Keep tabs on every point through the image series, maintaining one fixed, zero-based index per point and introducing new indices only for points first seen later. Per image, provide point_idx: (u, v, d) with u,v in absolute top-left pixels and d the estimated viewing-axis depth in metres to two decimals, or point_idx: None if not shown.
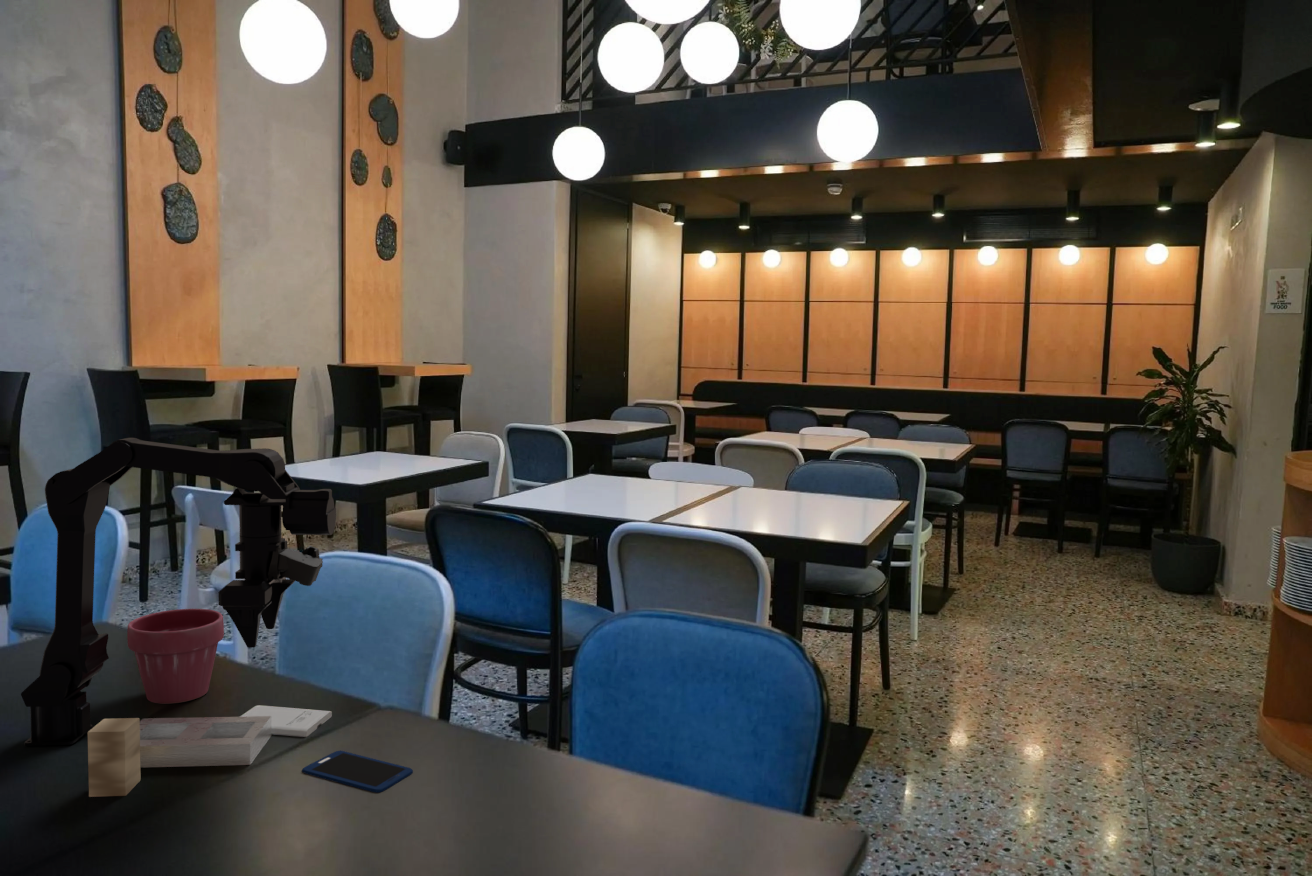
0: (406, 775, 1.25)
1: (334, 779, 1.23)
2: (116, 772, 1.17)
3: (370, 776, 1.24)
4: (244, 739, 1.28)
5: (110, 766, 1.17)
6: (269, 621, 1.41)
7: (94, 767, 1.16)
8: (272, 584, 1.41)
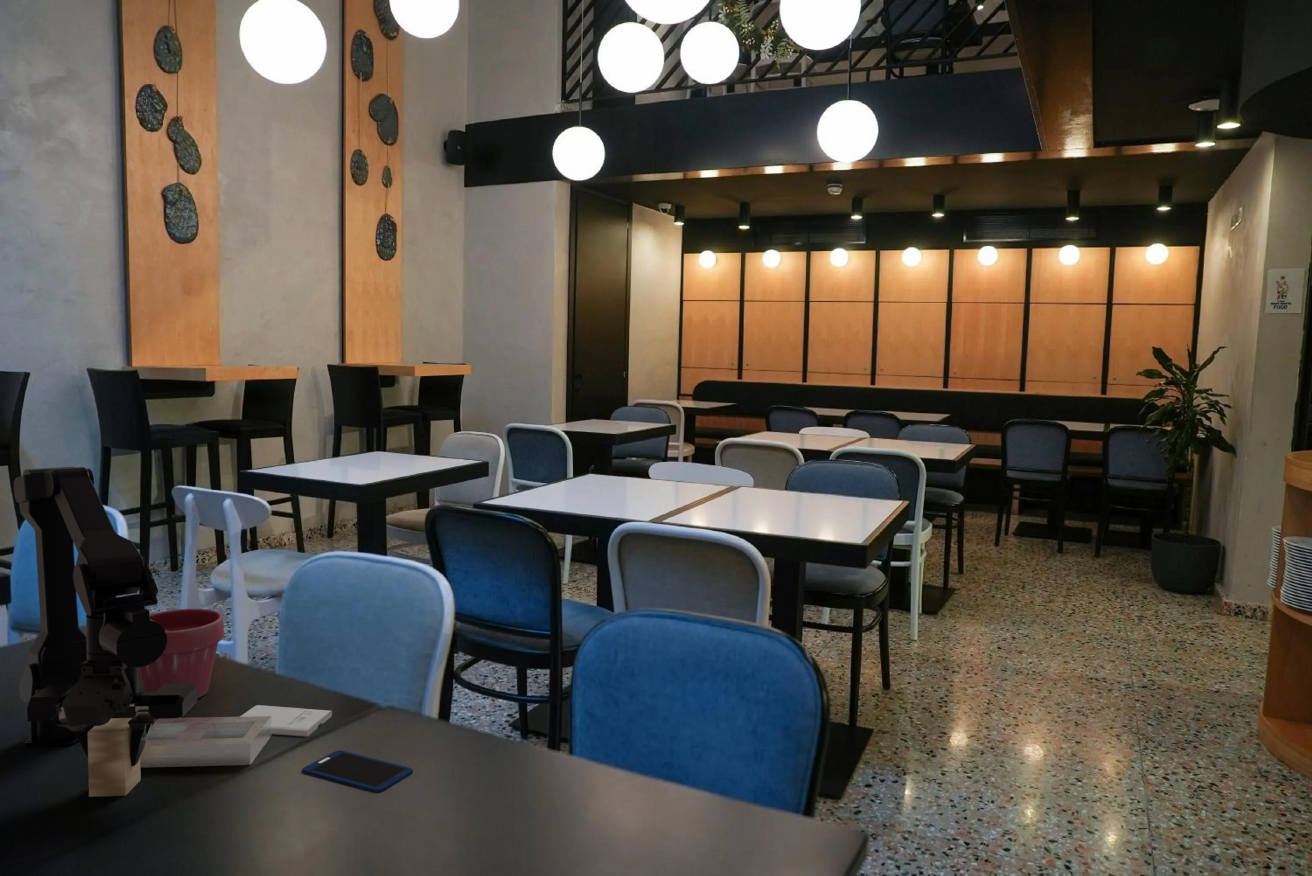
0: (406, 775, 1.25)
1: (334, 779, 1.23)
2: (116, 772, 1.17)
3: (370, 776, 1.24)
4: (244, 739, 1.28)
5: (110, 766, 1.17)
6: None
7: (94, 767, 1.16)
8: None
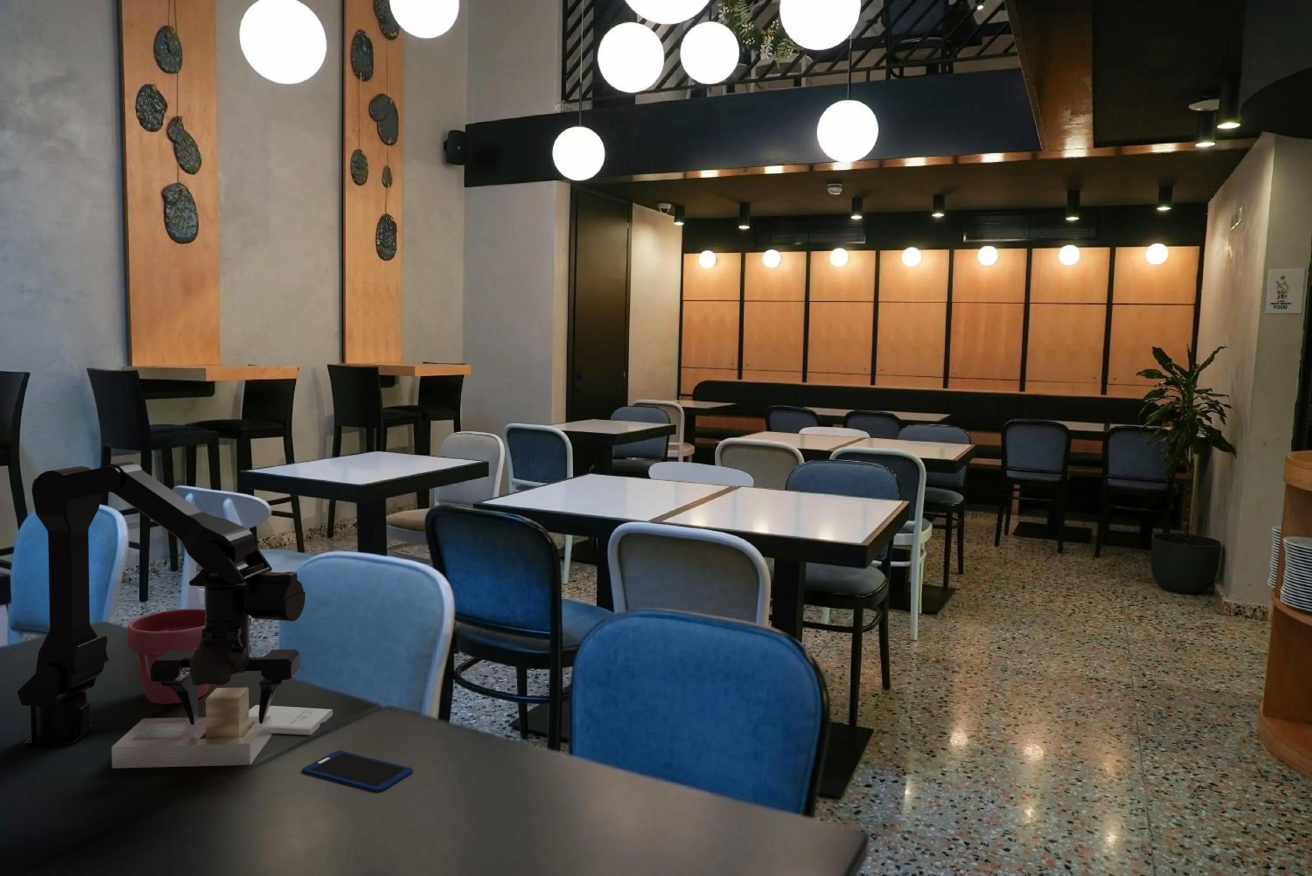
0: (406, 775, 1.25)
1: (334, 779, 1.23)
2: (231, 736, 1.29)
3: (370, 776, 1.24)
4: (244, 739, 1.28)
5: (226, 730, 1.29)
6: None
7: (211, 731, 1.29)
8: None
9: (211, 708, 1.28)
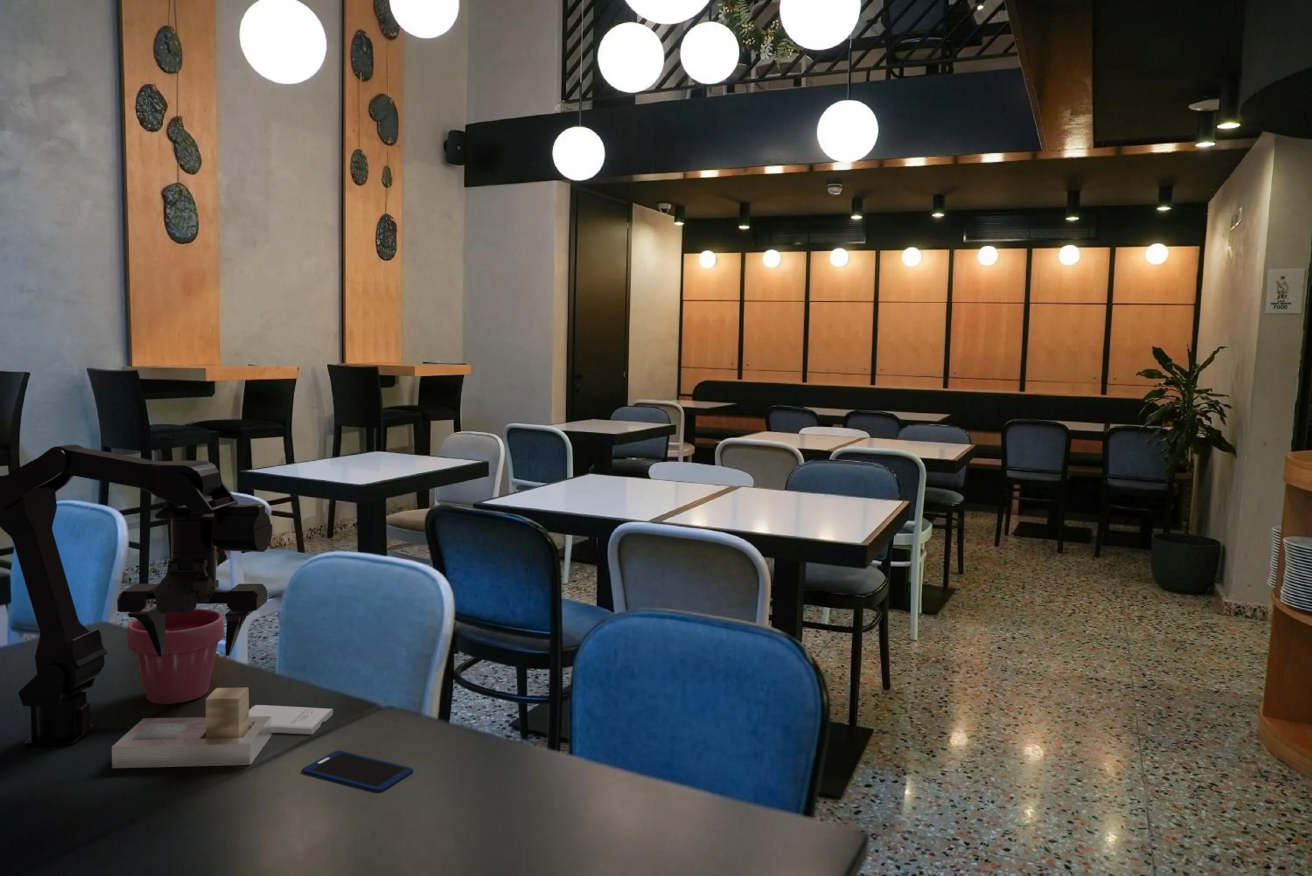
0: (406, 775, 1.25)
1: (334, 779, 1.23)
2: (231, 736, 1.29)
3: (370, 776, 1.24)
4: (244, 739, 1.28)
5: (226, 730, 1.29)
6: None
7: (211, 731, 1.29)
8: None
9: (211, 708, 1.28)
